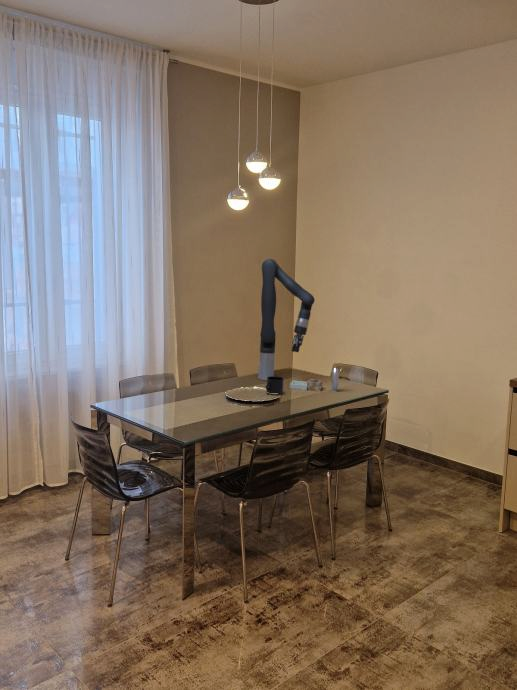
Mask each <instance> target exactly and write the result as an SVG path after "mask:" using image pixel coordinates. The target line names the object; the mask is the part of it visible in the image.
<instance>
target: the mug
mask: <svg viewBox="0 0 517 690" xmlns="http://www.w3.org/2000/svg"><path fill="white" fill-rule="evenodd" d="M265 389H266V393H267V392H269V393H278V394H281V395H283V394H284V377H281V376H276V375H275V376H270V377H267V380H266V385H265Z"/></svg>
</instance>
